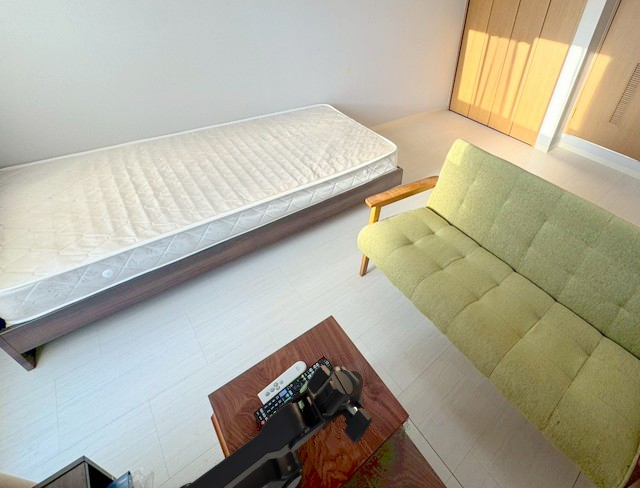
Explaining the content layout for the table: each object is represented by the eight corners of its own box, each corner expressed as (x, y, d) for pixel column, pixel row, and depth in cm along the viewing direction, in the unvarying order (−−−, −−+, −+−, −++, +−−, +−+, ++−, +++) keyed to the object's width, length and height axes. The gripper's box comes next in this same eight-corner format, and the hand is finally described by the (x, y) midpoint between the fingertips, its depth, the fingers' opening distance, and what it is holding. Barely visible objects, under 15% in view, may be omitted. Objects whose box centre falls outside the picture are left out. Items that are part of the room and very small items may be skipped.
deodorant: (356, 420, 84) (359, 399, 75) (335, 414, 84) (336, 392, 75) (362, 396, 88) (366, 374, 80) (343, 391, 89) (344, 368, 80)
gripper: (369, 413, 65) (395, 391, 79) (314, 353, 74) (346, 342, 88) (341, 459, 65) (372, 429, 79) (289, 393, 73) (325, 376, 87)
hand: (354, 391), depth 83 cm, fingers closed on deodorant, 6 cm apart
